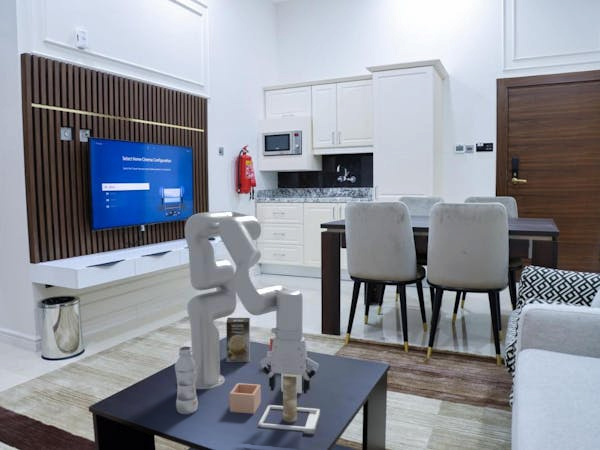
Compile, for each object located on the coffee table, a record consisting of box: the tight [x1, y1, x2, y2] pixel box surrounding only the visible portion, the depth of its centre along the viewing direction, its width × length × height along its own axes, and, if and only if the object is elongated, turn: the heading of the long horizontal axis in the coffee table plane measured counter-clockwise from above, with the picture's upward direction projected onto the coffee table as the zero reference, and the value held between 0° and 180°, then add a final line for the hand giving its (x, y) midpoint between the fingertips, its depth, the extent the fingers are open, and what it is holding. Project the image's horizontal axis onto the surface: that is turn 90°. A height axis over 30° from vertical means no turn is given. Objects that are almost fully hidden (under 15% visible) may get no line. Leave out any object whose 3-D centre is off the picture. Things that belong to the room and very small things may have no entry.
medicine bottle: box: [280, 374, 305, 394], centre depth 162 cm, size 7×7×12 cm
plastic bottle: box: [174, 346, 199, 415], centre depth 146 cm, size 6×7×20 cm
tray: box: [257, 404, 321, 435], centre depth 142 cm, size 16×12×2 cm
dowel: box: [282, 374, 298, 423], centre depth 141 cm, size 4×4×13 cm
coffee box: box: [225, 317, 251, 363], centre depth 190 cm, size 9×6×16 cm
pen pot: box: [229, 382, 262, 415], centre depth 149 cm, size 8×8×6 cm
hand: (289, 390), depth 141 cm, fingers open, 9 cm apart
